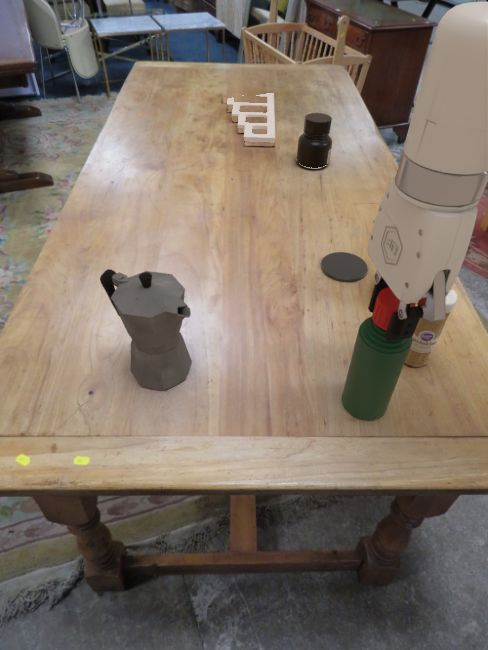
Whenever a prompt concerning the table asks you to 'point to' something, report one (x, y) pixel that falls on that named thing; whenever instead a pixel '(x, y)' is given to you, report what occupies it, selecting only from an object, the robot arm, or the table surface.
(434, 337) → the sprinkles bottle
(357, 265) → the coaster
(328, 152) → the ink bottle
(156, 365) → the coffeepot
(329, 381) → the table surface
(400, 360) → the bottle
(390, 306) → the cap
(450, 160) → the robot arm
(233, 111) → the holder
